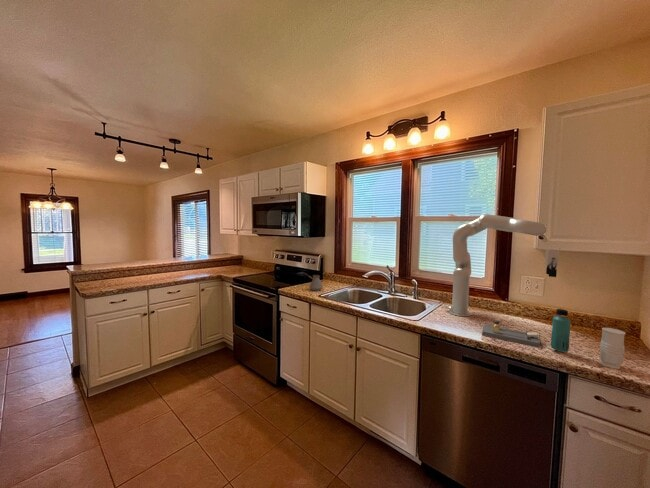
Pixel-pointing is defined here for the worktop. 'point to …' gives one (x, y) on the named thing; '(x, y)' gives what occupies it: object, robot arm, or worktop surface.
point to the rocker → (532, 334)
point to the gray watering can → (315, 283)
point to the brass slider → (496, 328)
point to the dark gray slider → (496, 322)
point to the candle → (612, 348)
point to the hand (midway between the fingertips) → (551, 275)
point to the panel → (511, 335)
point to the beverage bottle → (560, 331)
